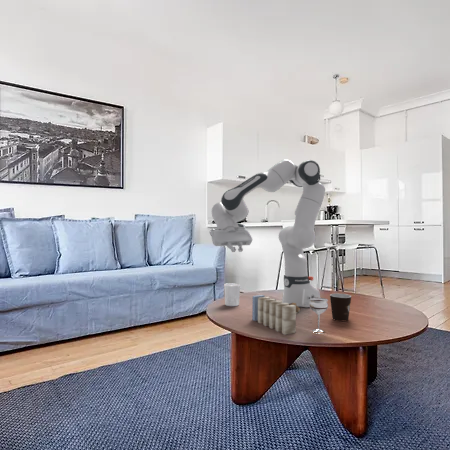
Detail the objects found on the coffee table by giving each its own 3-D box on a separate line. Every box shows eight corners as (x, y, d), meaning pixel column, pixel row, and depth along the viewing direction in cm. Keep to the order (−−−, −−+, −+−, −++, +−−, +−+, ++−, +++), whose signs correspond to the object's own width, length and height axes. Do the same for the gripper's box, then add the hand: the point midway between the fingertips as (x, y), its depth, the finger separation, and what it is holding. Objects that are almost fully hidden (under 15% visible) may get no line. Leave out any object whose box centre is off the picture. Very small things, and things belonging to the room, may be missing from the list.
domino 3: (273, 323, 140) (273, 298, 140) (275, 324, 139) (276, 299, 139) (263, 324, 138) (263, 299, 138) (265, 325, 136) (265, 300, 136)
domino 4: (279, 325, 137) (279, 300, 137) (282, 326, 135) (282, 301, 135) (269, 327, 134) (269, 301, 134) (271, 328, 133) (271, 302, 133)
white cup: (238, 307, 167) (238, 286, 167) (222, 306, 168) (222, 285, 168) (241, 303, 175) (241, 283, 175) (225, 302, 176) (225, 282, 176)
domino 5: (286, 328, 133) (286, 302, 133) (288, 329, 132) (288, 303, 132) (275, 330, 131) (275, 303, 131) (277, 331, 129) (278, 304, 129)
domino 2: (267, 320, 144) (268, 296, 144) (270, 321, 142) (270, 297, 142) (257, 322, 141) (257, 297, 141) (259, 323, 140) (260, 298, 140)
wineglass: (324, 328, 134) (324, 297, 134) (330, 334, 127) (330, 301, 127) (307, 328, 133) (307, 297, 133) (312, 334, 127) (312, 301, 127)
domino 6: (292, 331, 130) (292, 304, 130) (295, 332, 128) (295, 305, 128) (281, 333, 127) (282, 306, 127) (284, 334, 126) (284, 307, 126)
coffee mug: (340, 323, 141) (340, 298, 141) (325, 317, 149) (325, 294, 149) (360, 319, 147) (360, 295, 147) (345, 314, 154) (345, 292, 154)
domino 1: (262, 318, 147) (262, 294, 147) (264, 319, 146) (264, 295, 146) (252, 319, 145) (252, 295, 145) (254, 320, 144) (254, 296, 143)
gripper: (210, 224, 163) (220, 247, 154) (247, 225, 172) (258, 246, 164) (206, 234, 167) (215, 256, 158) (242, 233, 176) (253, 254, 168)
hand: (237, 251), depth 161 cm, fingers open, 2 cm apart
